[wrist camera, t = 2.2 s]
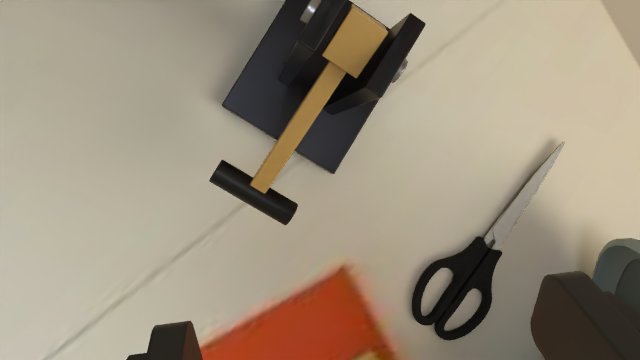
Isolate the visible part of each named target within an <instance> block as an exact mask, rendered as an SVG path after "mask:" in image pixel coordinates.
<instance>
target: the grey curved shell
mask: <svg viewBox="0 0 640 360" xmlns="http://www.w3.org/2000/svg"><path fill="white" fill-rule="evenodd" d="M592 281H593V282H594V283H595V284H596V285H597V286H598V287H599V288H600V289H601V290H602V292H606V291H610V292H611V293H613V294H614V295H616V296H617V297H619V298H620V299H622V300H624V301H625V302H627V303H628V304H630V305H631V306H633V307H634V308H635V309H636V310H637V311H638V312H639V313H640V240H636V239H632V238H626V239H615V240H612V241H610V242H609V243H607V244H606V245H605V246H604V247H603V249H602V251H601V253H600V254H599V257H598V260H597V262H596V266H595V269H594V273H593V279H592Z"/></svg>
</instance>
